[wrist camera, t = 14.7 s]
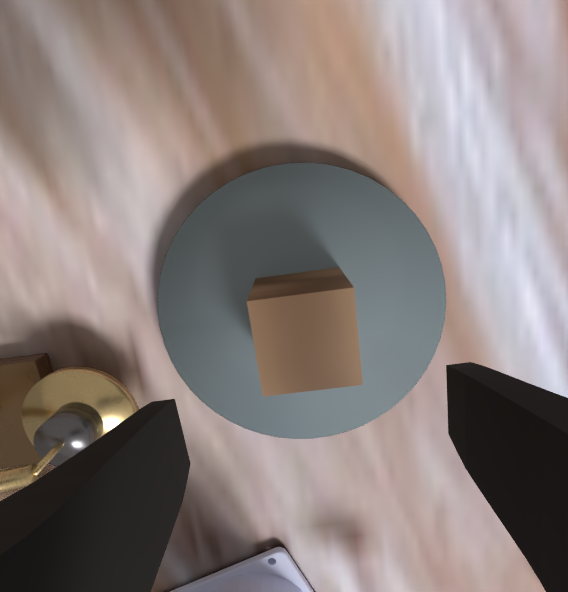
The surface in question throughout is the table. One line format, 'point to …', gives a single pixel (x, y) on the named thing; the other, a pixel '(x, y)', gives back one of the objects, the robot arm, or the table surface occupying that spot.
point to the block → (305, 332)
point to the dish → (294, 259)
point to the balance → (53, 414)
